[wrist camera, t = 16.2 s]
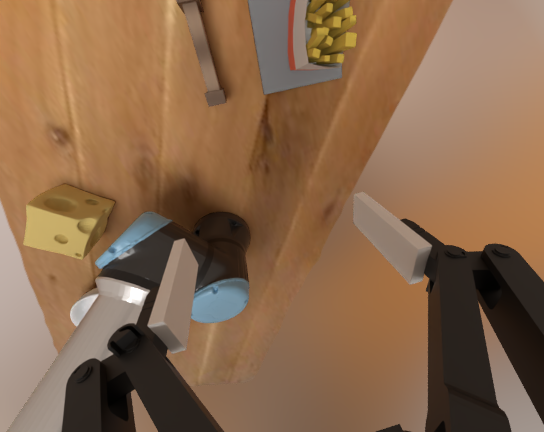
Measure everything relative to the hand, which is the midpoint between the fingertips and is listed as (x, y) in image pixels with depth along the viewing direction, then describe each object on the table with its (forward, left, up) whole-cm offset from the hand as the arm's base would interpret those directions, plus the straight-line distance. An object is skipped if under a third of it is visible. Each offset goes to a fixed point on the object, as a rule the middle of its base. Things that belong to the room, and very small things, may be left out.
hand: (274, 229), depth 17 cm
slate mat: (+14, -13, -36) cm, 41 cm away
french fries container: (+14, -13, -36) cm, 41 cm away
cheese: (-9, +40, -36) cm, 54 cm away
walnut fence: (+14, +4, -36) cm, 39 cm away
